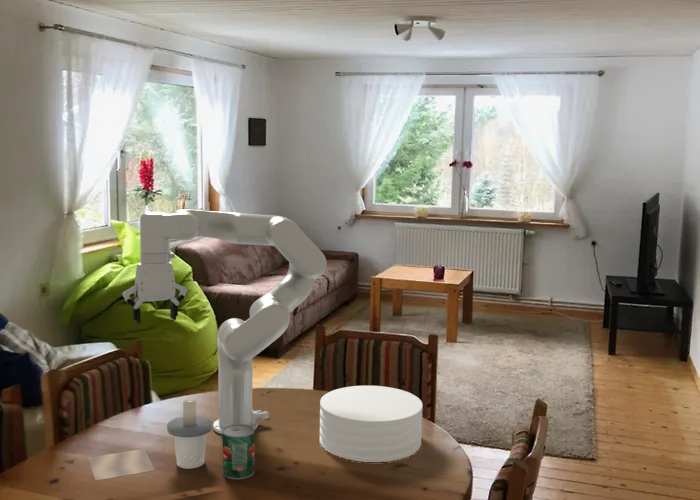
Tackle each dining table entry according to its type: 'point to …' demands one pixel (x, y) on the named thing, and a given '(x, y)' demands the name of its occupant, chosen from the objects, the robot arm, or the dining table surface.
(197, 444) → the white cup
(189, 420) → the lid
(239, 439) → the canned tomato
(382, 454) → the plate stack
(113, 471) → the cork mat
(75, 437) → the dining table surface
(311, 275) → the robot arm
